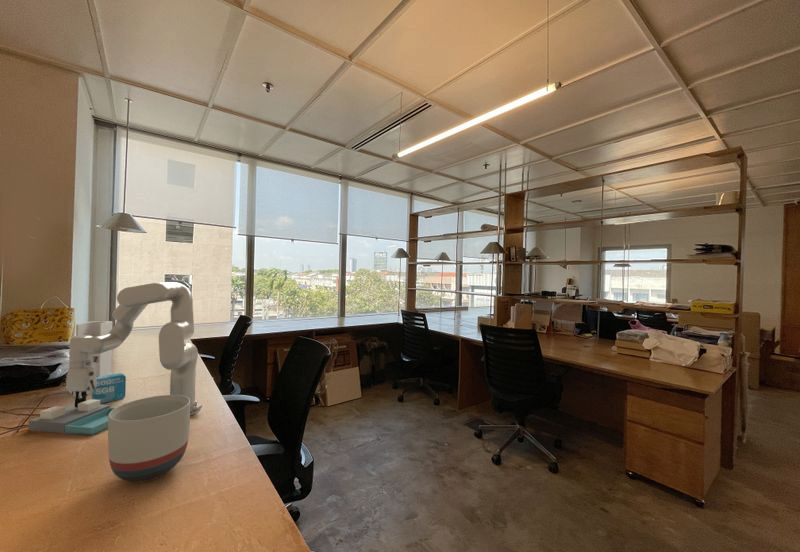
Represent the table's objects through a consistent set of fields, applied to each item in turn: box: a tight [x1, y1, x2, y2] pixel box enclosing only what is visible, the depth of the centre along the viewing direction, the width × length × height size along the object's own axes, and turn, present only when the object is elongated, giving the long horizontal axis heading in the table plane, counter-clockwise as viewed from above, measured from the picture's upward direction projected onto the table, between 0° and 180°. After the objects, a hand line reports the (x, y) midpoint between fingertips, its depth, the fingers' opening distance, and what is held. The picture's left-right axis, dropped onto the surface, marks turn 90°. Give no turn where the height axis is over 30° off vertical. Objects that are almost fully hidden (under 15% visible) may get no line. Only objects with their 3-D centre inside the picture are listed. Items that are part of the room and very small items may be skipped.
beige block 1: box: [39, 405, 66, 419], centre depth 133 cm, size 5×5×3 cm
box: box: [64, 407, 116, 437], centre depth 135 cm, size 12×18×3 cm, turn 174°
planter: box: [107, 394, 191, 483], centre depth 102 cm, size 20×20×21 cm
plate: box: [27, 403, 111, 434], centre depth 137 cm, size 16×18×4 cm
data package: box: [91, 372, 127, 404], centre depth 161 cm, size 12×4×12 cm, turn 139°
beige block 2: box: [78, 398, 101, 411], centre depth 141 cm, size 5×5×3 cm
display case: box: [75, 320, 113, 377], centre depth 180 cm, size 11×11×35 cm
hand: (80, 406), depth 142 cm, fingers closed
